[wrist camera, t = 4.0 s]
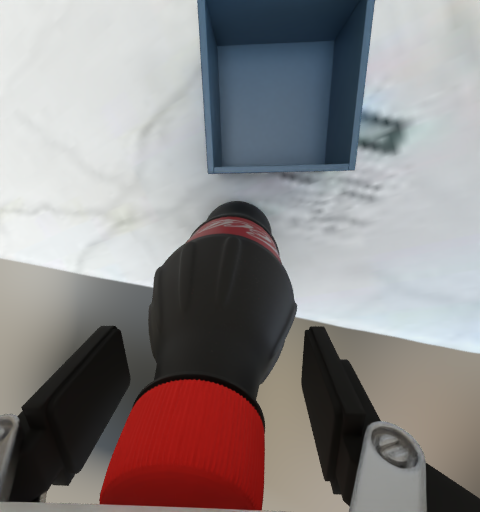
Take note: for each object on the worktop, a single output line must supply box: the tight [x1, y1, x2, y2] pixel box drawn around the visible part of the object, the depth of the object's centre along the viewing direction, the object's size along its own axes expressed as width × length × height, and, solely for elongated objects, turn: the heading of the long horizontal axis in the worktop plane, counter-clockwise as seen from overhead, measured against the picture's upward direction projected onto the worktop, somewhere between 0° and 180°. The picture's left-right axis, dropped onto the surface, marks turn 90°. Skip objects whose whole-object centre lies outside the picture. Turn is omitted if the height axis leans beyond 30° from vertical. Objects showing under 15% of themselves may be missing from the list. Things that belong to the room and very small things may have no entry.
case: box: [197, 0, 375, 174], centre depth 25 cm, size 14×14×9 cm
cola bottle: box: [99, 201, 297, 511], centre depth 20 cm, size 8×8×30 cm
